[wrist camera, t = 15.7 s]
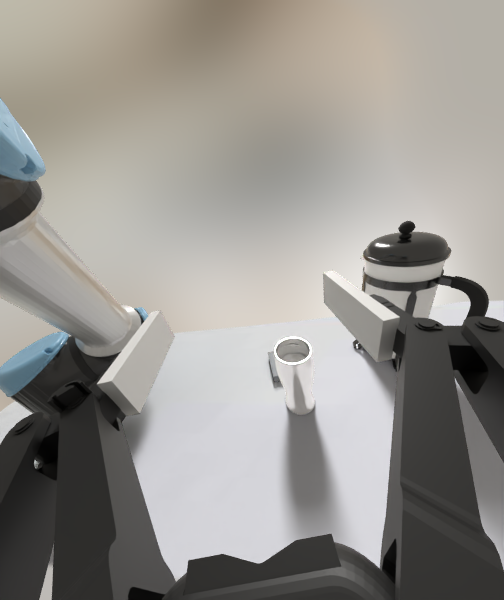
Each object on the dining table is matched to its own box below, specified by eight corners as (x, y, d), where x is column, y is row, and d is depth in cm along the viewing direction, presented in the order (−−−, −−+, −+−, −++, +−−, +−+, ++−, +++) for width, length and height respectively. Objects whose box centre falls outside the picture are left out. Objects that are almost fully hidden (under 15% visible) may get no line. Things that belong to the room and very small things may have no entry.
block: (310, 368, 44) (299, 345, 51) (273, 376, 44) (267, 352, 51) (311, 375, 45) (300, 351, 52) (274, 383, 45) (269, 358, 52)
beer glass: (300, 380, 44) (293, 331, 37) (324, 403, 38) (322, 350, 31) (277, 398, 41) (265, 348, 34) (299, 425, 36) (290, 372, 29)
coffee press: (358, 372, 43) (370, 239, 28) (348, 327, 55) (353, 221, 41) (458, 380, 36) (536, 218, 22) (421, 328, 49) (456, 204, 35)
